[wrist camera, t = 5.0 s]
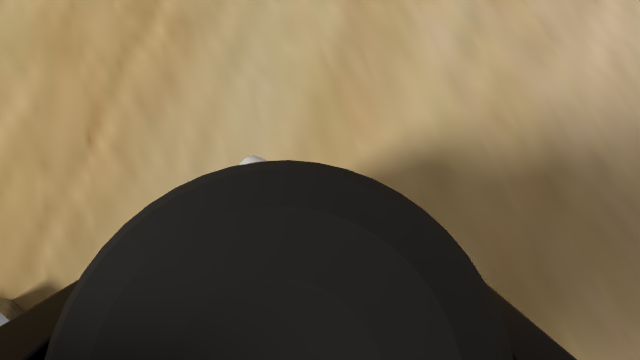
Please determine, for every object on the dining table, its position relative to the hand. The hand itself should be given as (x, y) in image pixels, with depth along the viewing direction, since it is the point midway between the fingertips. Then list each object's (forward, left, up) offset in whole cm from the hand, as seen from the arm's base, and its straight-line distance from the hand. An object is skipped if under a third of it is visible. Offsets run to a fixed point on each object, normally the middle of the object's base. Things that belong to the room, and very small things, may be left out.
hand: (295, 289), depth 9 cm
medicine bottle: (-1, +1, -9) cm, 9 cm away
